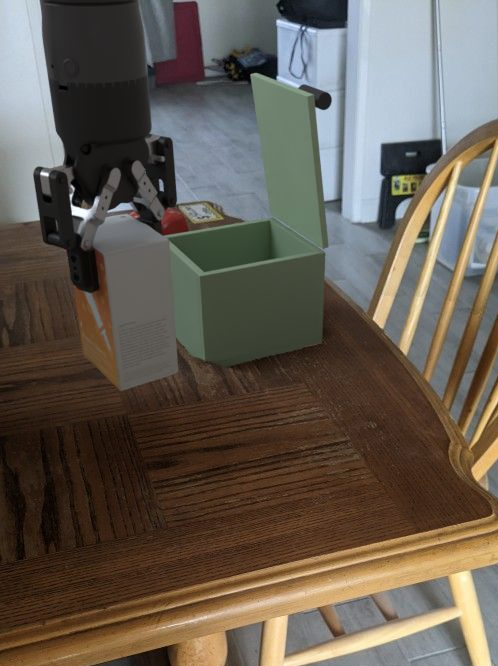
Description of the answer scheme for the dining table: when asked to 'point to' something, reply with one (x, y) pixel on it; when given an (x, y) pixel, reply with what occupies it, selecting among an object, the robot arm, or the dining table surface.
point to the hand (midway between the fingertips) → (120, 274)
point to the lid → (292, 154)
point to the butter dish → (170, 222)
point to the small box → (129, 305)
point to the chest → (246, 291)
